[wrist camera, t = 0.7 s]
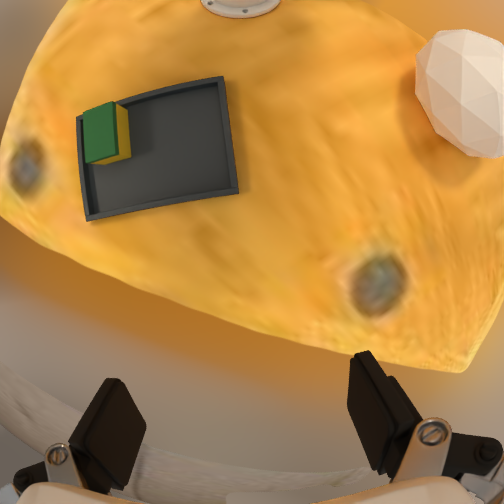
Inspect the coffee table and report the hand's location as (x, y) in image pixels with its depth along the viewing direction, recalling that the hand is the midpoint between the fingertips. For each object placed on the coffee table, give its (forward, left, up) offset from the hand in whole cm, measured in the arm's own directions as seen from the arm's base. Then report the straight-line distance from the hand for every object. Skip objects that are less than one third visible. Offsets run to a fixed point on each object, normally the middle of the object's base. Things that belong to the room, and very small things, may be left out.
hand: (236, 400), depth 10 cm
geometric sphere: (-20, +35, -28) cm, 48 cm away
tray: (-15, -10, -27) cm, 33 cm away
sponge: (-18, -15, -27) cm, 36 cm away
